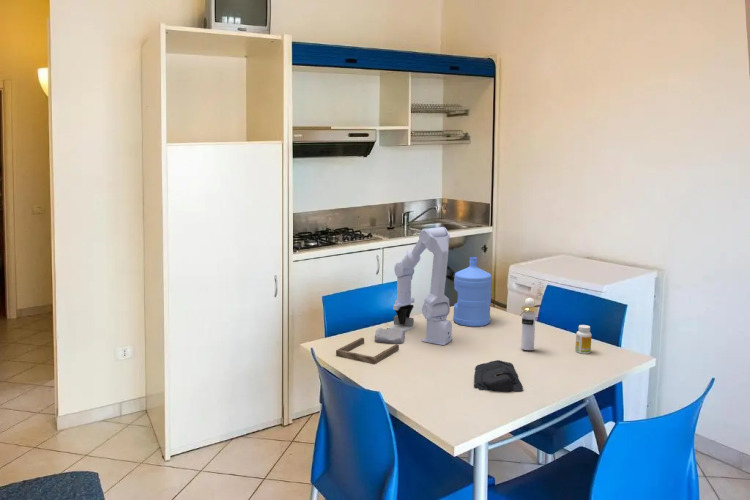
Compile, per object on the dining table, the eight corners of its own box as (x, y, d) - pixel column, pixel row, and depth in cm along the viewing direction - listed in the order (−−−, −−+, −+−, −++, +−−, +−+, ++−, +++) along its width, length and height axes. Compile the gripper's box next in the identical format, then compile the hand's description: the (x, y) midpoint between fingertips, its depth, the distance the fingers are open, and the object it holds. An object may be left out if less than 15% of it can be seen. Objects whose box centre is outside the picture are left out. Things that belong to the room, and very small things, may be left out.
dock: (398, 350, 236) (398, 344, 235) (374, 364, 221) (374, 358, 221) (361, 342, 244) (361, 337, 244) (336, 355, 230) (336, 350, 229)
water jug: (497, 321, 272) (499, 257, 267) (476, 329, 261) (478, 262, 256) (467, 314, 282) (469, 252, 277) (445, 322, 271) (447, 257, 266)
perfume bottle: (521, 346, 240) (523, 295, 236) (536, 348, 237) (539, 296, 234) (518, 351, 234) (520, 298, 231) (533, 353, 232) (536, 300, 228)
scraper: (413, 327, 263) (413, 318, 262) (403, 333, 256) (403, 323, 255) (396, 325, 267) (396, 315, 266) (386, 330, 260) (386, 320, 259)
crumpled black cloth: (518, 369, 218) (519, 356, 217) (523, 395, 196) (524, 380, 195) (473, 366, 220) (474, 353, 219) (473, 391, 198) (473, 377, 198)
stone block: (404, 348, 243) (405, 335, 252) (404, 337, 241) (405, 325, 250) (373, 349, 244) (375, 336, 253) (372, 338, 242) (375, 325, 252)
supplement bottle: (593, 351, 234) (594, 326, 233) (586, 355, 230) (588, 329, 229) (579, 348, 238) (580, 323, 236) (572, 351, 234) (574, 326, 232)
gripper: (404, 286, 269) (403, 317, 272) (386, 293, 257) (386, 325, 259) (418, 288, 266) (418, 319, 268) (402, 295, 253) (401, 328, 256)
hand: (403, 322), depth 263 cm, fingers closed on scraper, 2 cm apart
